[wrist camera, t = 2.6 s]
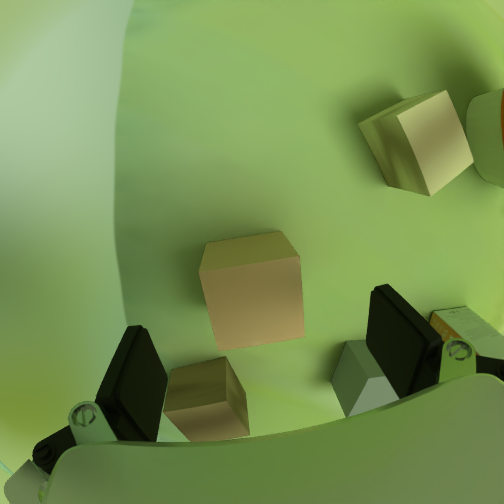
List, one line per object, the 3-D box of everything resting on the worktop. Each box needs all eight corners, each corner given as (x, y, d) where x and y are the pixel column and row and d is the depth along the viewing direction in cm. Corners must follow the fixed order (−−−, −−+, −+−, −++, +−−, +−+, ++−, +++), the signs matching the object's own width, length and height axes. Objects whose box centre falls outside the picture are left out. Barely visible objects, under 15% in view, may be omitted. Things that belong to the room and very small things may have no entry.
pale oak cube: (429, 157, 17) (473, 161, 12) (387, 186, 18) (430, 196, 13) (403, 99, 16) (446, 89, 11) (356, 124, 16) (396, 115, 11)
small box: (431, 309, 22) (516, 392, 9) (467, 305, 22) (542, 369, 10) (405, 372, 24) (462, 457, 12) (442, 363, 25) (498, 432, 13)
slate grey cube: (373, 376, 24) (393, 410, 19) (330, 380, 23) (346, 419, 18) (391, 337, 22) (417, 370, 18) (345, 340, 22) (368, 378, 17)
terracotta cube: (288, 296, 20) (304, 336, 15) (220, 307, 20) (218, 350, 15) (281, 230, 18) (299, 255, 13) (206, 242, 18) (198, 272, 13)
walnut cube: (245, 392, 23) (249, 434, 18) (196, 403, 23) (193, 444, 18) (225, 355, 21) (226, 400, 16) (171, 368, 21) (163, 412, 16)
